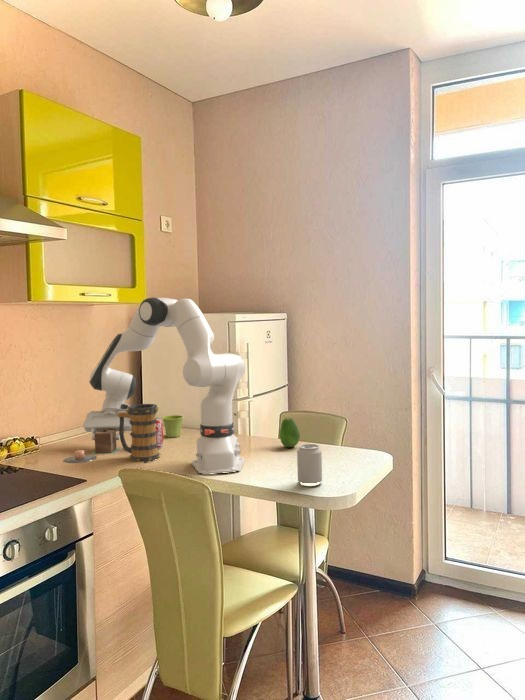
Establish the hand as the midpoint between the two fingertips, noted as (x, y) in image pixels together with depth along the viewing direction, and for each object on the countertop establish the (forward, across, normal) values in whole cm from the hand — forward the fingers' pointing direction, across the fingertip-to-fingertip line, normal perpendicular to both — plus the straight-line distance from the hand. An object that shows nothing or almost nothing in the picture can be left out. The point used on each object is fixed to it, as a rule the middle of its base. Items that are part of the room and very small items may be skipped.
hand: (105, 439), depth 221 cm
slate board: (+12, -6, -5) cm, 14 cm away
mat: (+4, 0, +4) cm, 5 cm away
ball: (+12, -6, -5) cm, 14 cm away
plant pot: (-16, +21, +24) cm, 35 cm away
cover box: (+3, 0, +3) cm, 5 cm away
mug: (+12, +17, -4) cm, 21 cm away
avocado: (+2, +73, +6) cm, 73 cm away
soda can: (0, +18, +8) cm, 20 cm away
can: (+36, +80, -28) cm, 92 cm away
